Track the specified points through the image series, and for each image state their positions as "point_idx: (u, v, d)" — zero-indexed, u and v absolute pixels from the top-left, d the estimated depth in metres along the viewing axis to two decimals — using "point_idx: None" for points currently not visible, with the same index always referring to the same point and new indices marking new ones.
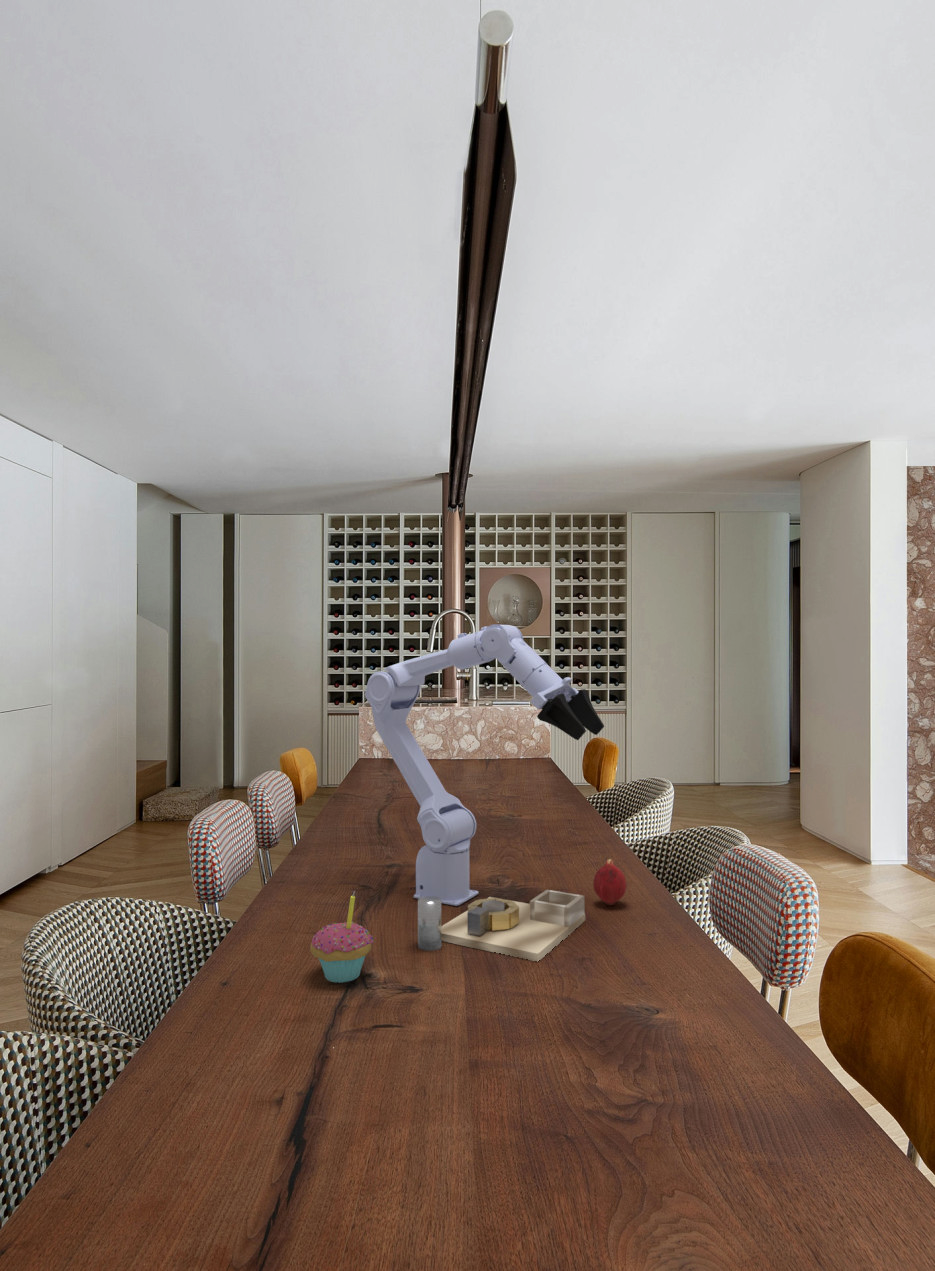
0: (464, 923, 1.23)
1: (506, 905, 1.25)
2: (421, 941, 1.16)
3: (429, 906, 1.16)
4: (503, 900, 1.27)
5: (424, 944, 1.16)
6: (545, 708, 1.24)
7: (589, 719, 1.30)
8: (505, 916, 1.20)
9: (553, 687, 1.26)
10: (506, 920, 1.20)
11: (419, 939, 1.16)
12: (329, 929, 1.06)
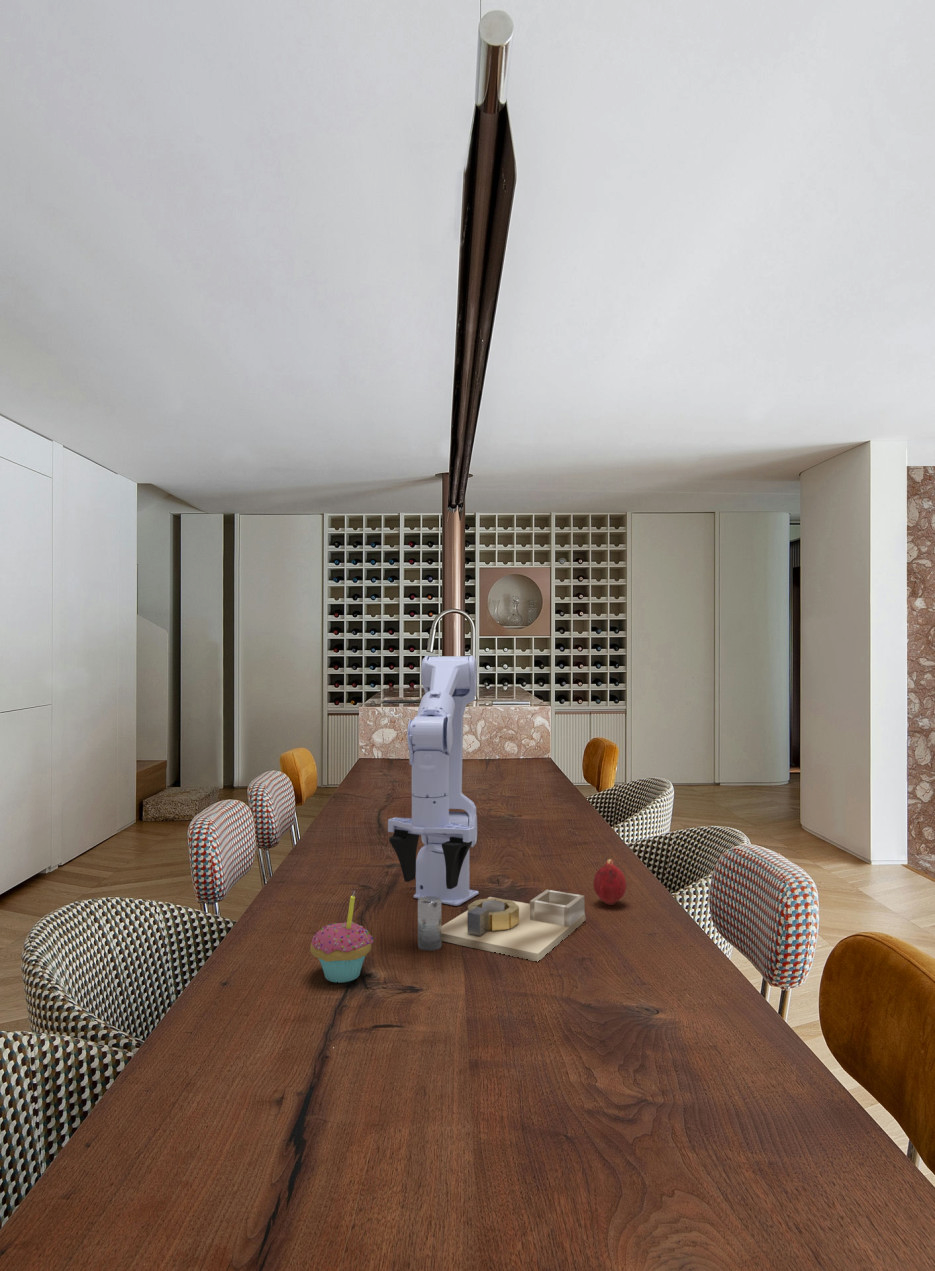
0: (464, 923, 1.23)
1: (506, 905, 1.25)
2: (421, 941, 1.16)
3: (429, 906, 1.16)
4: (503, 900, 1.27)
5: (424, 944, 1.16)
6: None
7: None
8: (505, 916, 1.20)
9: (405, 825, 1.17)
10: (506, 920, 1.20)
11: (419, 939, 1.16)
12: (329, 929, 1.06)
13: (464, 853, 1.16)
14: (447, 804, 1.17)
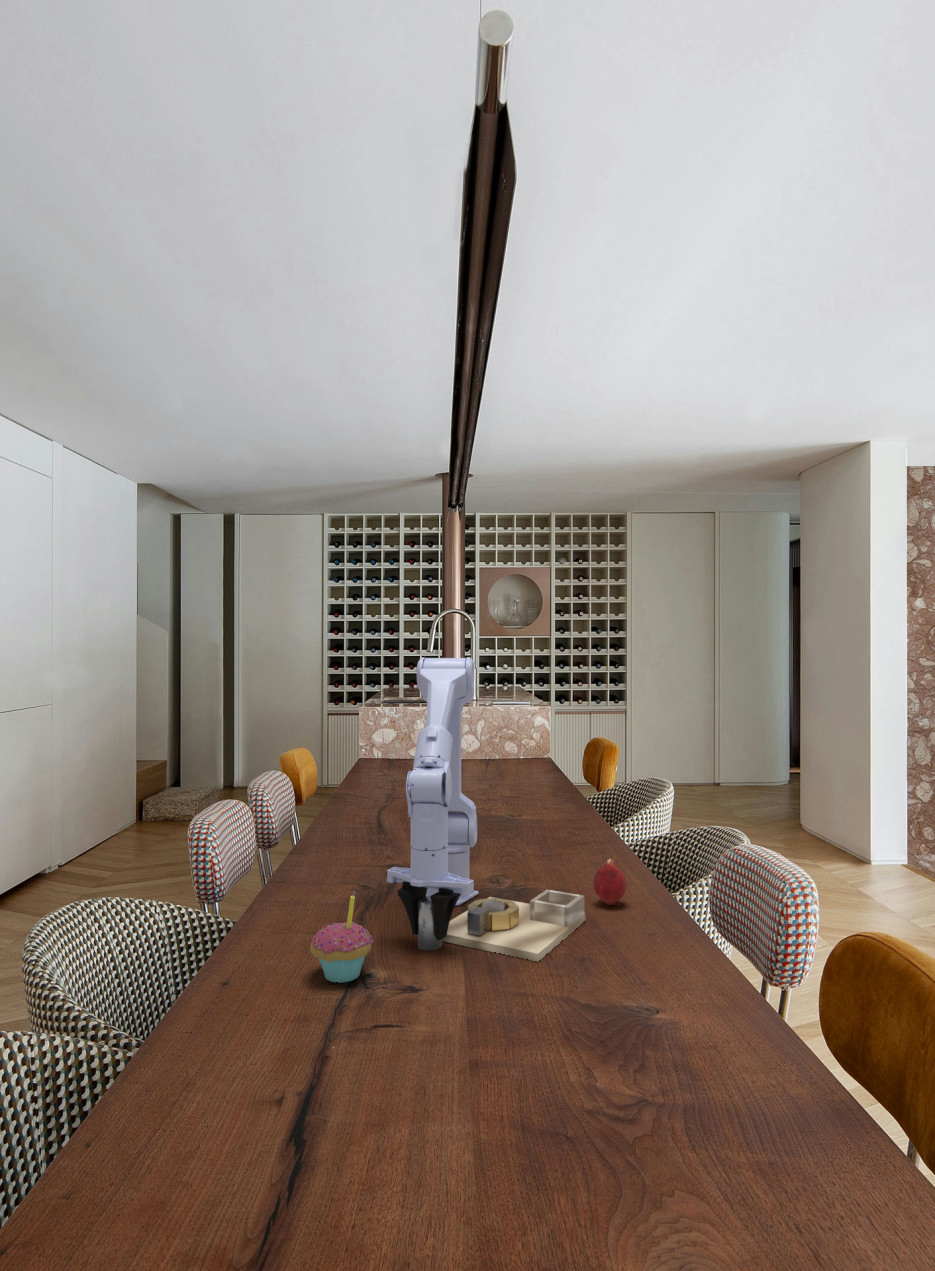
0: (464, 923, 1.23)
1: (506, 905, 1.25)
2: (421, 940, 1.16)
3: (429, 906, 1.16)
4: (503, 900, 1.27)
5: (424, 944, 1.16)
6: None
7: None
8: (505, 916, 1.20)
9: (404, 877, 1.17)
10: (506, 920, 1.20)
11: (419, 939, 1.16)
12: (329, 929, 1.06)
13: (453, 904, 1.17)
14: (446, 856, 1.17)
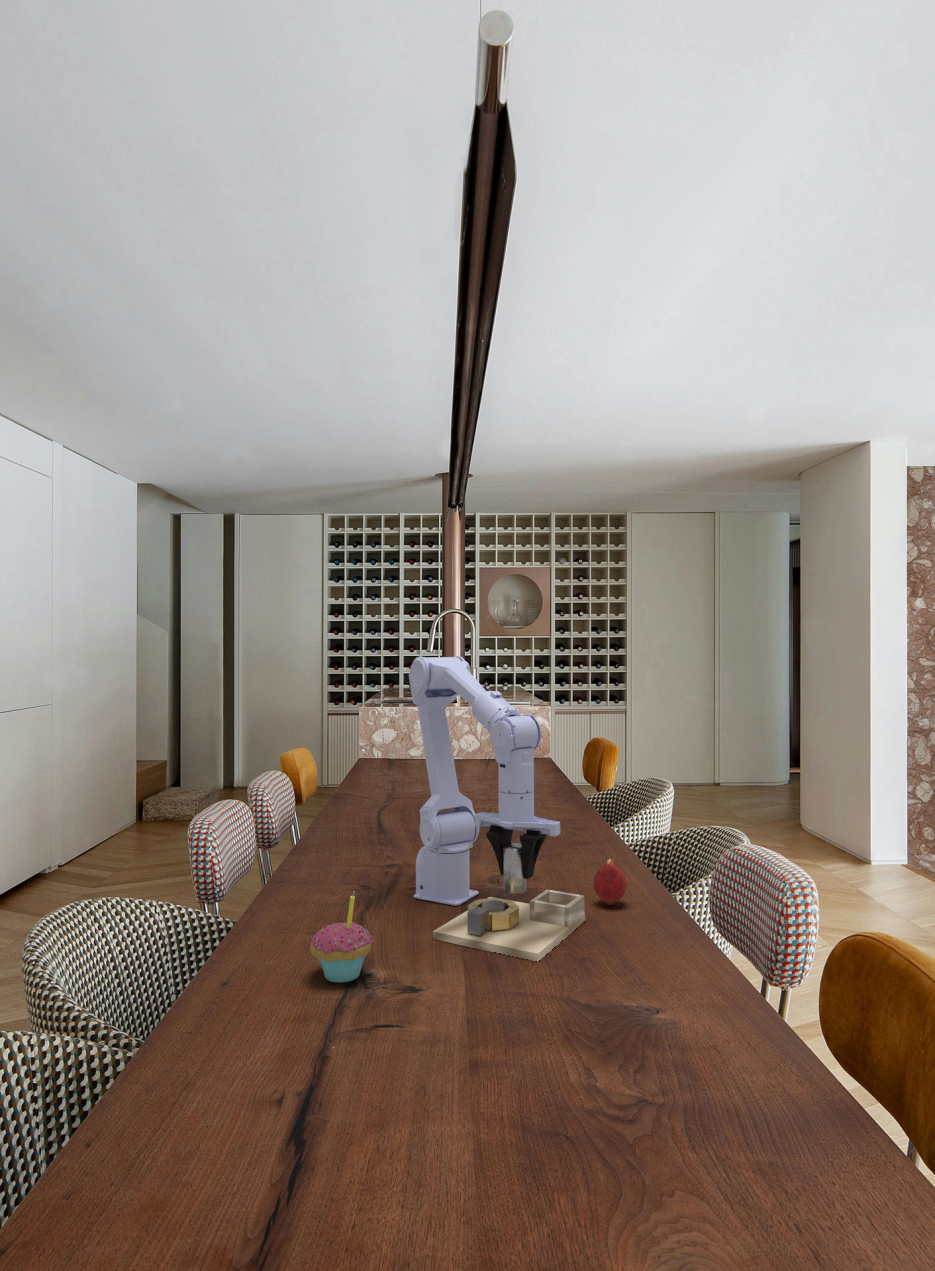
0: (464, 923, 1.23)
1: (506, 905, 1.25)
2: (505, 884, 1.22)
3: (512, 851, 1.21)
4: (503, 900, 1.27)
5: (508, 887, 1.21)
6: None
7: None
8: (505, 916, 1.20)
9: (492, 819, 1.23)
10: (506, 920, 1.20)
11: (504, 882, 1.22)
12: (329, 929, 1.06)
13: (539, 845, 1.23)
14: (533, 800, 1.23)
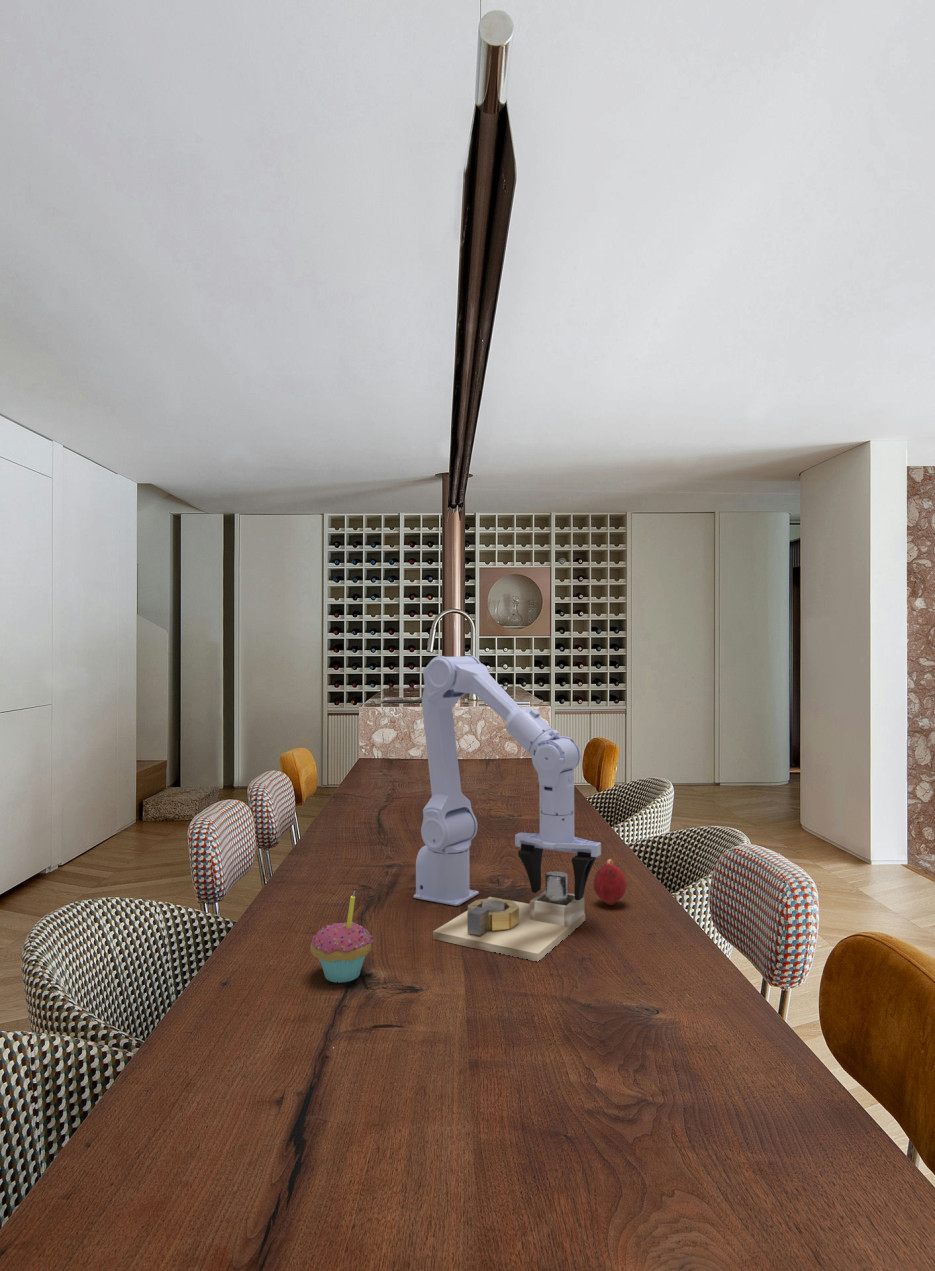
0: (464, 923, 1.23)
1: (506, 905, 1.25)
2: None
3: (554, 879, 1.24)
4: (503, 900, 1.27)
5: None
6: None
7: None
8: (505, 916, 1.20)
9: (534, 840, 1.26)
10: (506, 920, 1.20)
11: None
12: (329, 929, 1.06)
13: (590, 867, 1.25)
14: (573, 821, 1.26)
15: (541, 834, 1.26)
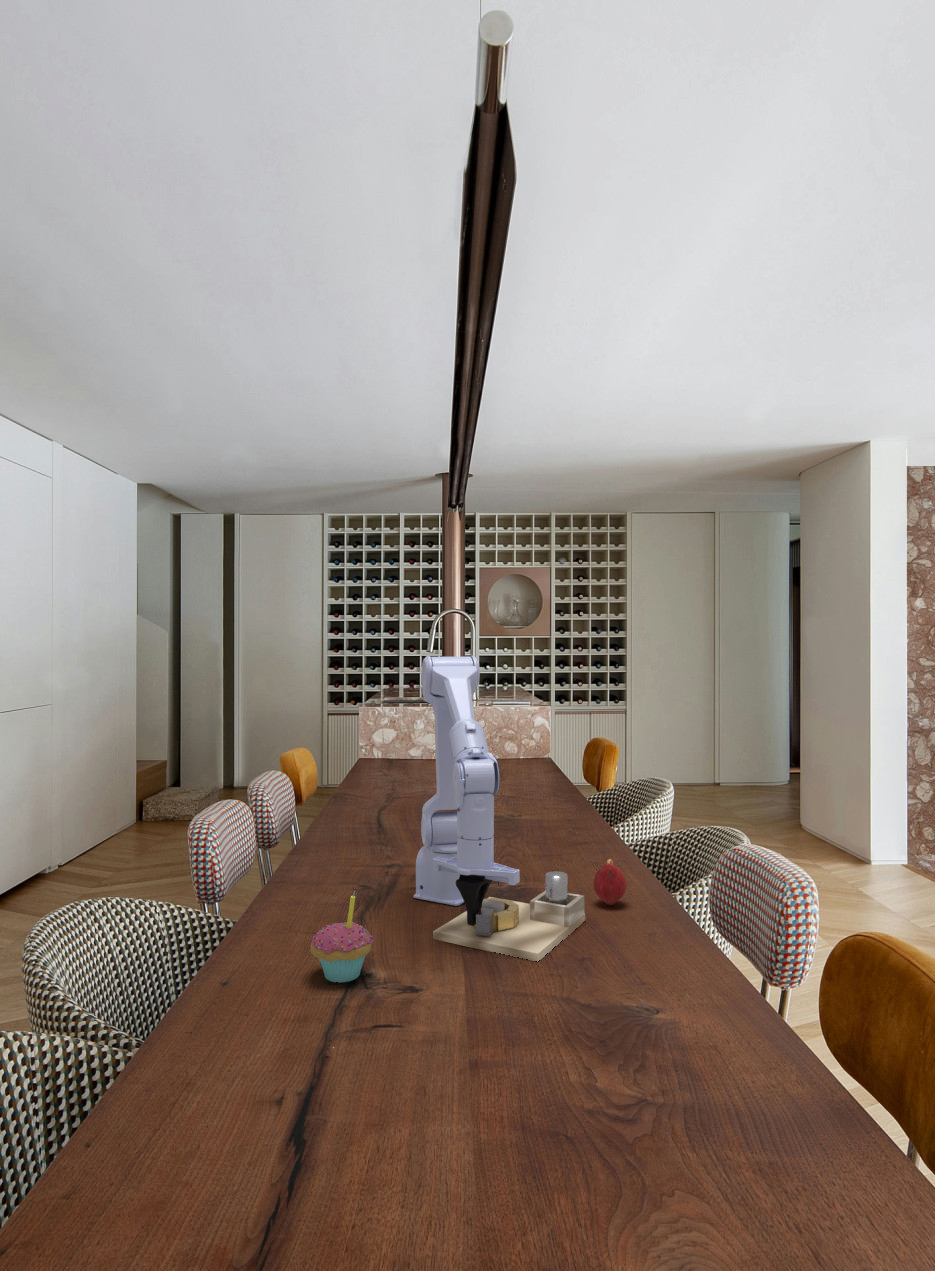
0: (464, 923, 1.23)
1: (504, 904, 1.26)
2: None
3: (554, 879, 1.24)
4: (499, 899, 1.27)
5: None
6: None
7: None
8: (510, 915, 1.21)
9: (450, 866, 1.19)
10: (511, 919, 1.21)
11: None
12: (329, 929, 1.06)
13: (485, 890, 1.20)
14: (492, 846, 1.19)
15: (458, 859, 1.19)
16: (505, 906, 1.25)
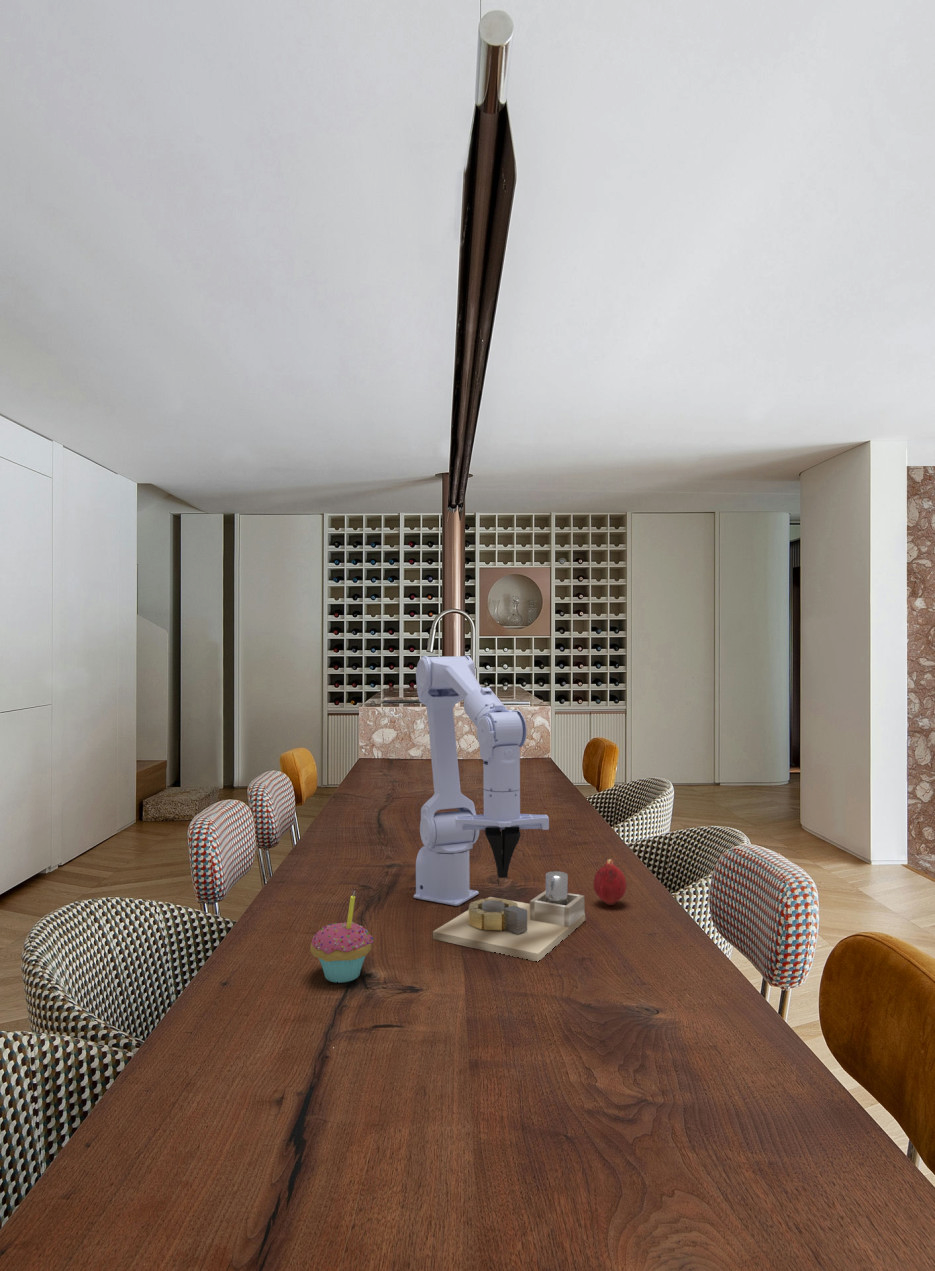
0: (464, 923, 1.23)
1: None
2: None
3: (554, 880, 1.24)
4: (480, 901, 1.26)
5: None
6: None
7: (503, 859, 1.20)
8: None
9: (482, 822, 1.18)
10: None
11: None
12: (329, 929, 1.06)
13: None
14: None
15: (491, 814, 1.18)
16: None
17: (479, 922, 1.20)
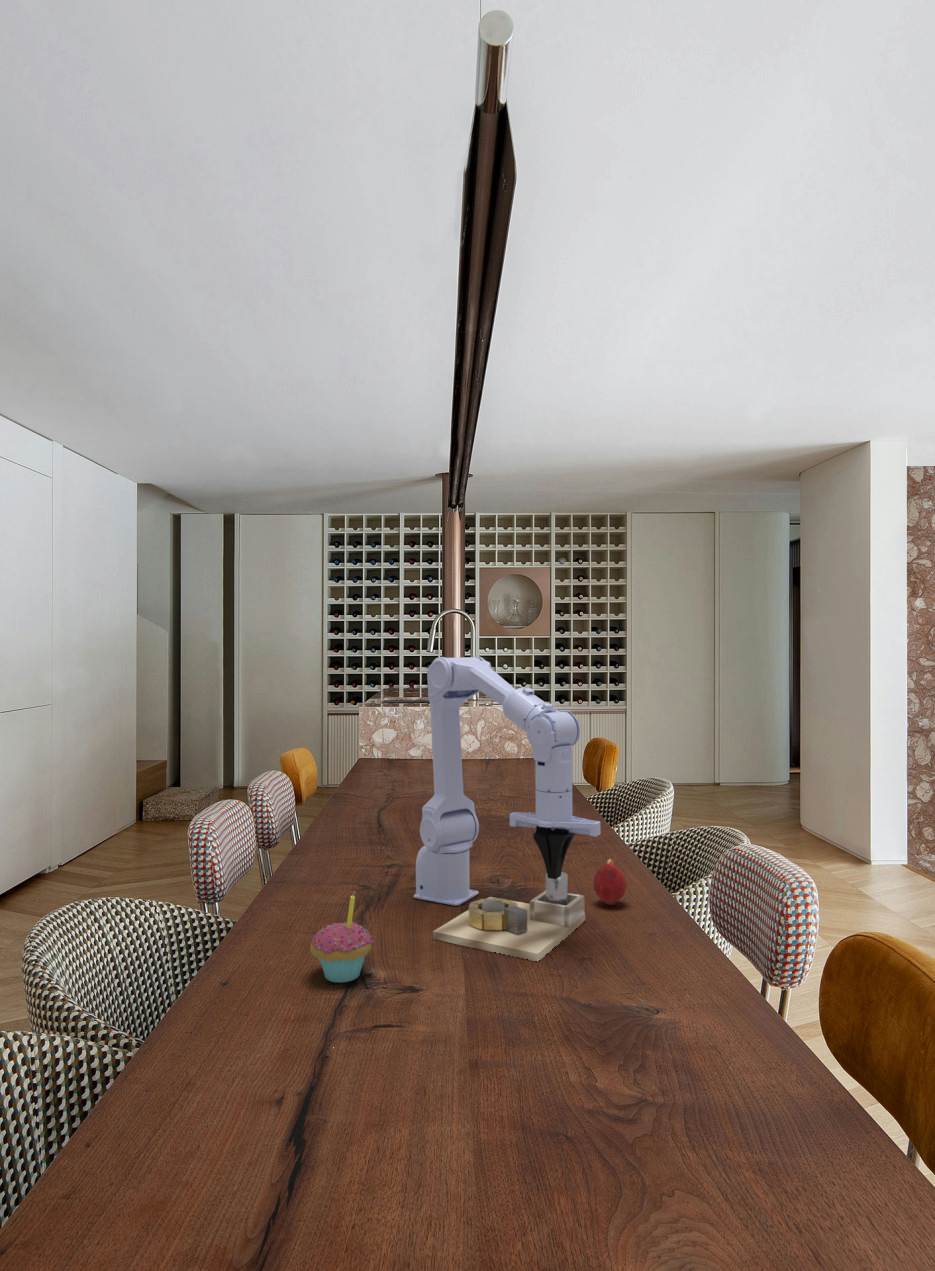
0: (464, 923, 1.23)
1: None
2: None
3: (554, 880, 1.24)
4: (479, 901, 1.26)
5: None
6: None
7: None
8: None
9: (529, 819, 1.19)
10: None
11: None
12: (329, 929, 1.06)
13: (567, 844, 1.19)
14: (571, 799, 1.18)
15: (537, 813, 1.18)
16: None
17: (479, 922, 1.20)
